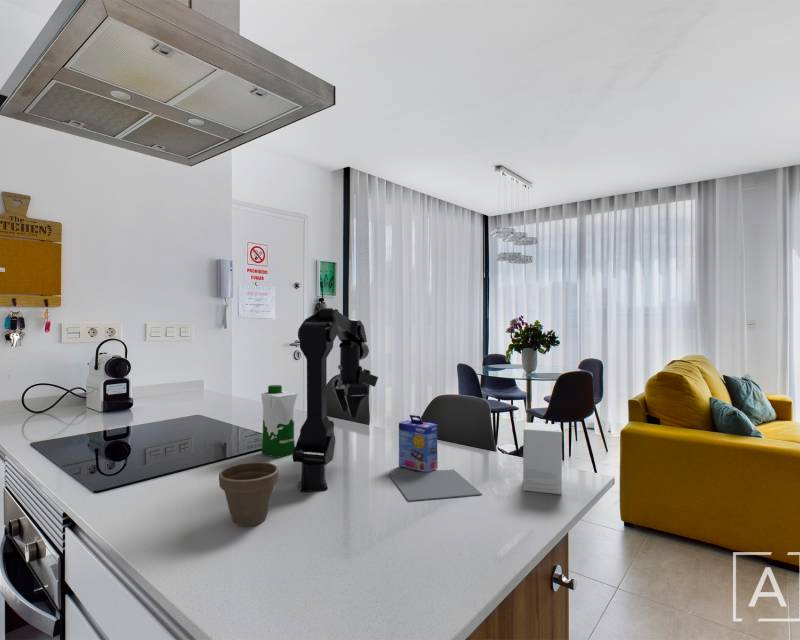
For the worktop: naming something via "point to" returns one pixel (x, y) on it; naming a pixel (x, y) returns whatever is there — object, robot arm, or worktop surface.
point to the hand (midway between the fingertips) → (348, 414)
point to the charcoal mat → (433, 485)
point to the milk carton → (278, 421)
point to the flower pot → (249, 490)
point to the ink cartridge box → (418, 445)
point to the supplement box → (542, 458)
